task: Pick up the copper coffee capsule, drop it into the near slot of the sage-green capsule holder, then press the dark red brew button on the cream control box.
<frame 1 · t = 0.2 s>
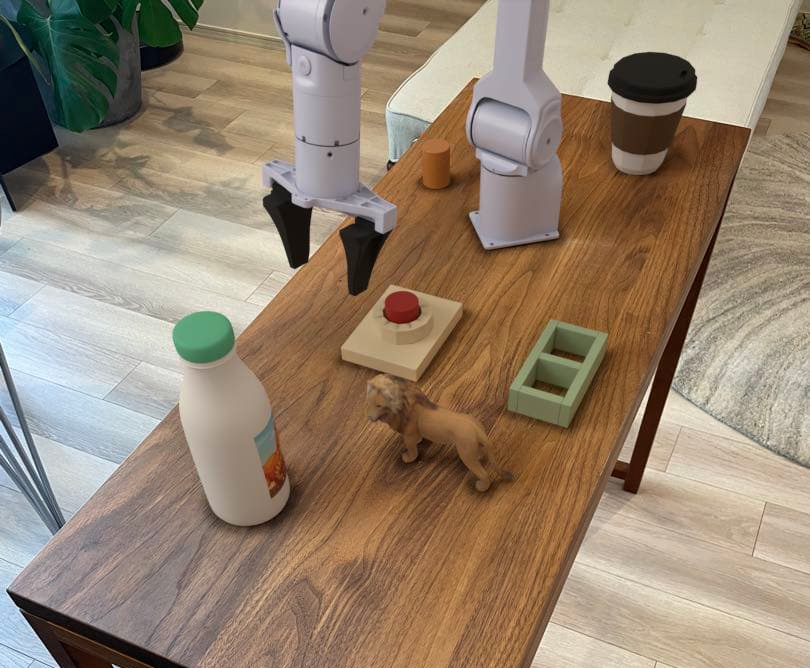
hand: (328, 278, 82), 10 cm above the table, tool pointing down, fingers open, 7 cm apart
lion figurine: (434, 463, 81), on the table
milk bottle: (251, 498, 79), on the table
coffee cup: (636, 164, 112), on the table
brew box: (403, 337, 92), on the table
brew button: (401, 307, 89), point 4 cm above the table, slide at 0.1 cm
coffee capsule: (436, 182, 111), on the table
pod holder: (557, 382, 87), on the table
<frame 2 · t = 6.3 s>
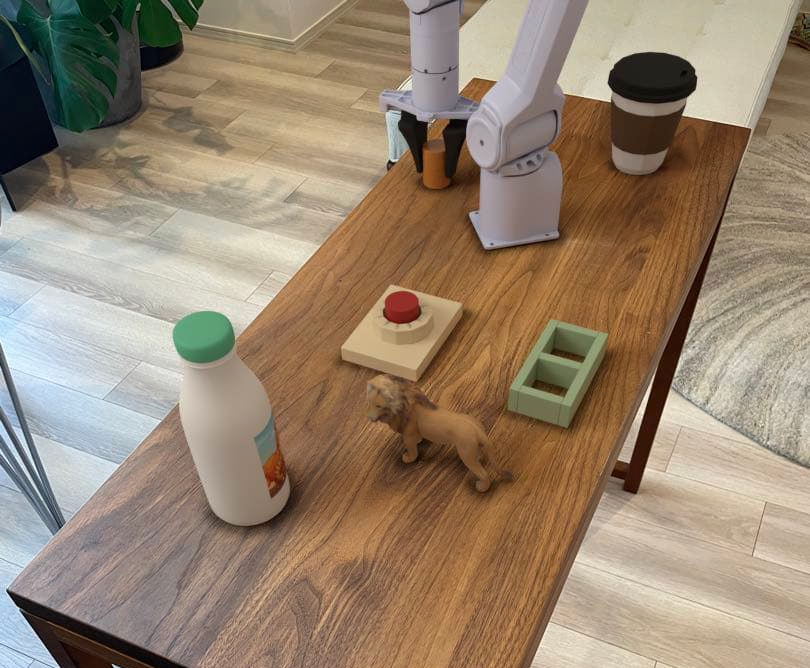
hand: (436, 172, 110), 1 cm above the table, tool pointing down, fingers closed on coffee capsule, 3 cm apart
coffee capsule: (436, 182, 111), on the table, touching gripper
everything else where it was.
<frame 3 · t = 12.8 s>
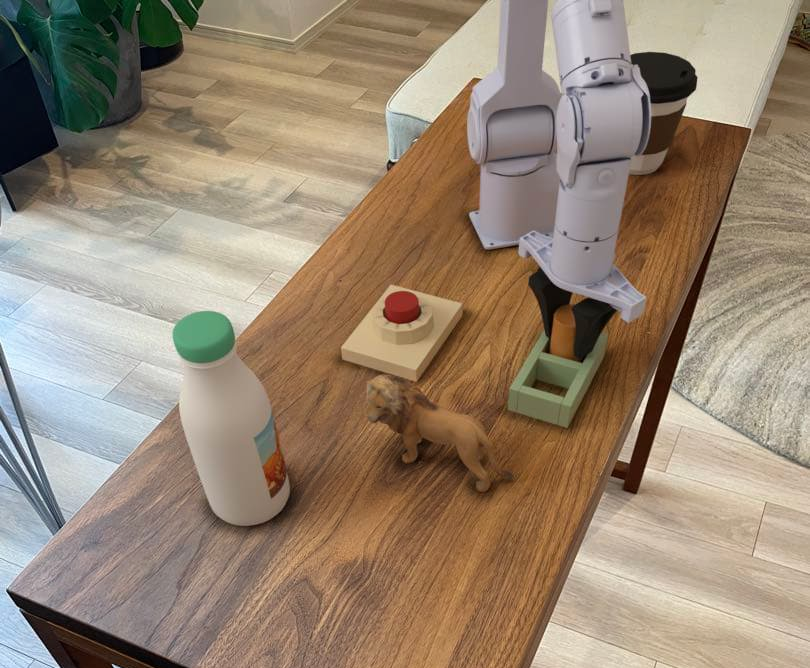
hand: (569, 343, 86), 3 cm above the table, tool pointing down, fingers closed on coffee capsule, 3 cm apart
coffee capsule: (566, 354, 87), point 2 cm above the table, touching gripper
everything else where it was.
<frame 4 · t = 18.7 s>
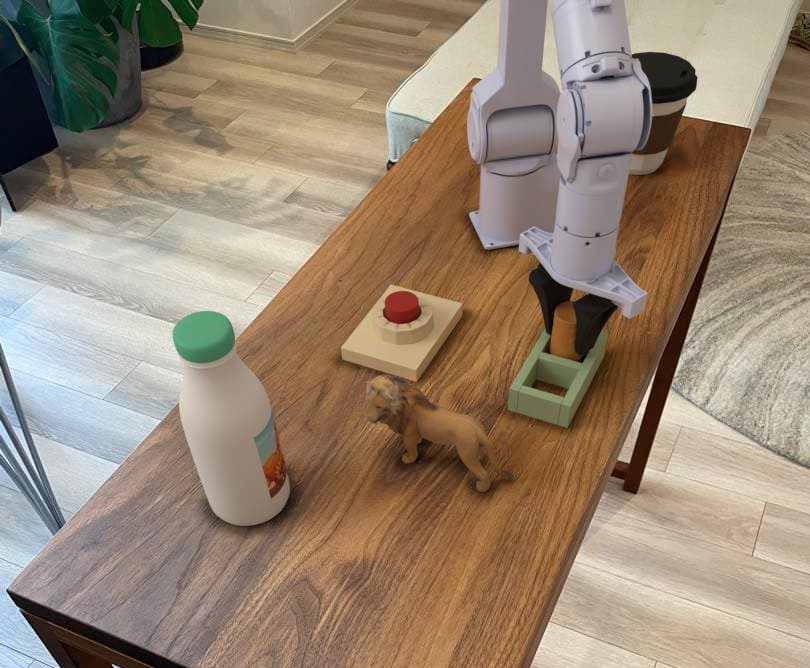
hand: (569, 339, 85), 4 cm above the table, tool pointing down, fingers closed on coffee capsule, 3 cm apart
coffee capsule: (567, 351, 86), point 2 cm above the table, touching gripper
everything else where it was.
when the fingers open (6 cm above the table, at t = 24.1 s): coffee capsule drops 4 cm, resting in pod holder.
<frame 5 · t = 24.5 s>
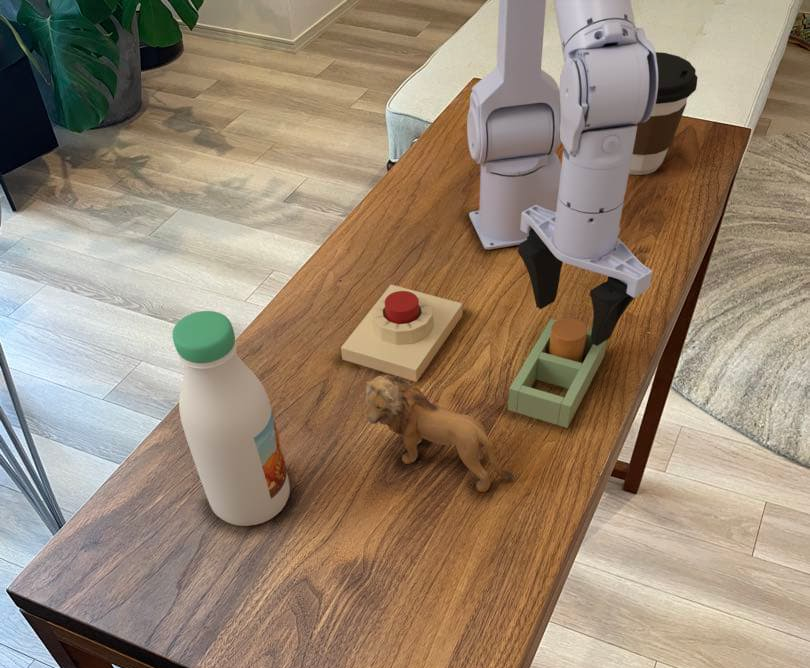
hand: (572, 321, 84), 6 cm above the table, tool pointing down, fingers open, 7 cm apart
coffee capsule: (563, 366, 88), resting in pod holder
everything else where it was.
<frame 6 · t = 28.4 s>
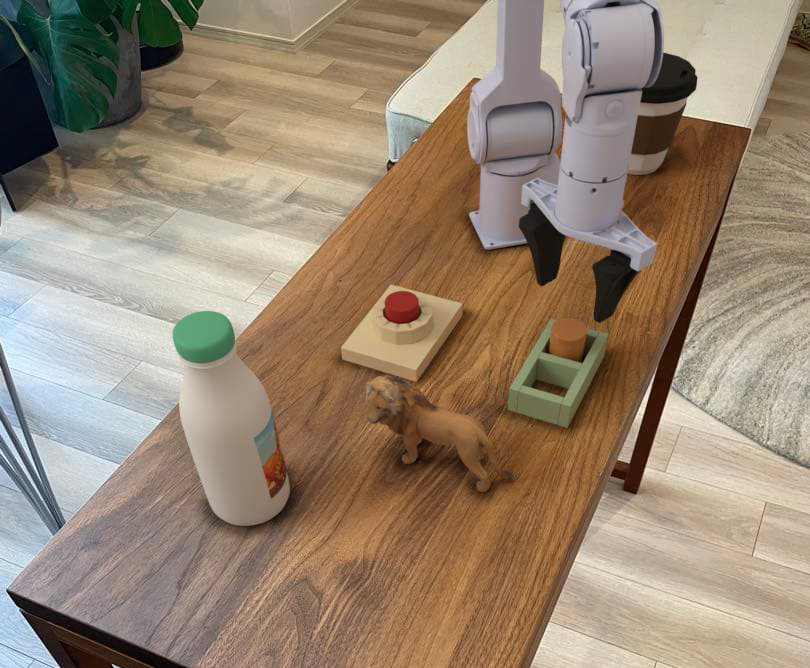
hand: (574, 298, 81), 9 cm above the table, tool pointing down, fingers open, 7 cm apart
nothing on the table moved.
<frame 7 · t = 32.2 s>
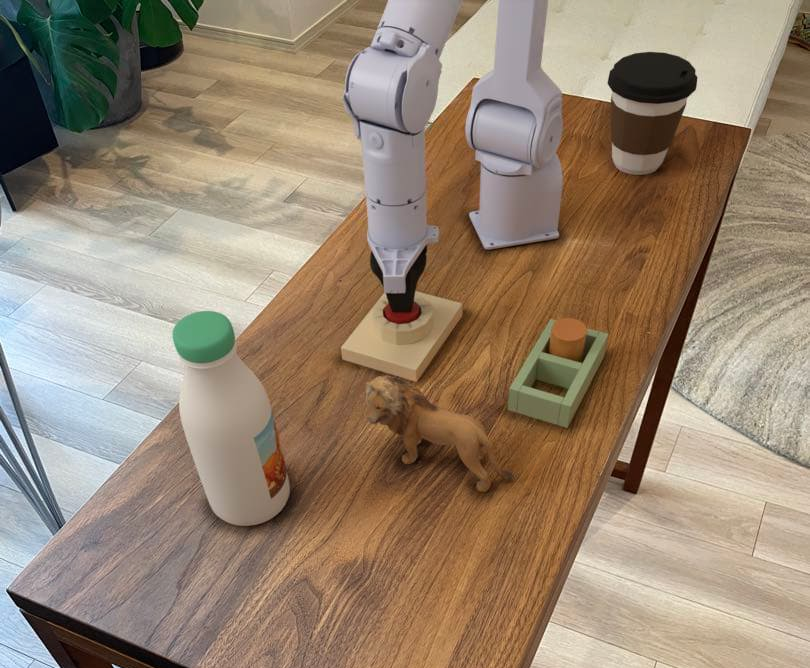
hand: (401, 308, 89), 4 cm above the table, tool pointing down, fingers closed, pressing on brew button
brew button: (402, 315, 90), point 3 cm above the table, slide at -0.9 cm, touching gripper
everything else where it was.
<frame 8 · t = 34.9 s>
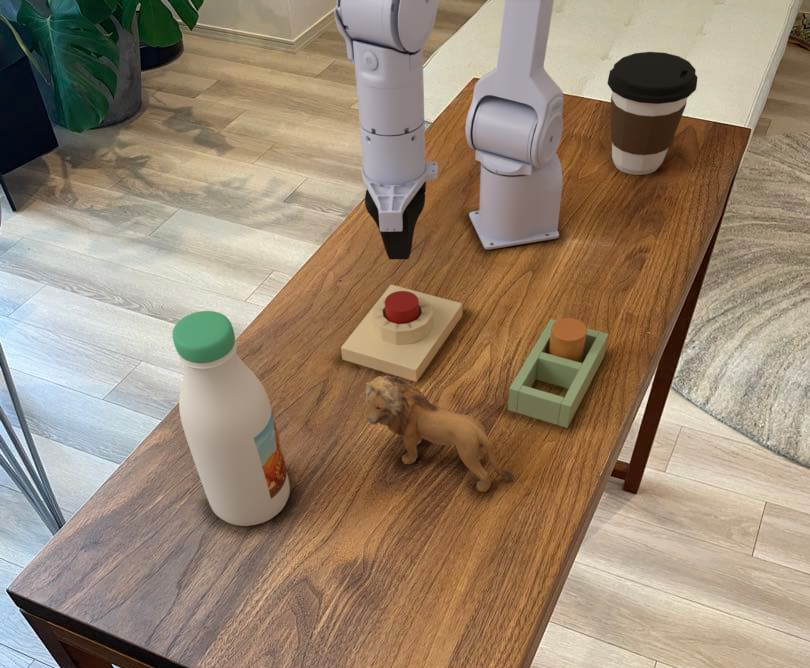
hand: (399, 255, 84), 10 cm above the table, tool pointing down, fingers closed
brew button: (401, 307, 89), point 4 cm above the table, slide at 0.1 cm
everything else where it was.
at the end: coffee capsule 0.2 cm from the target spot in the pod holder, point 0.0 cm above the pod holder's base; brew button pushed in 1.2 cm at the most during the clip, back to where it started at the end; brew button slide at 0.1 cm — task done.
